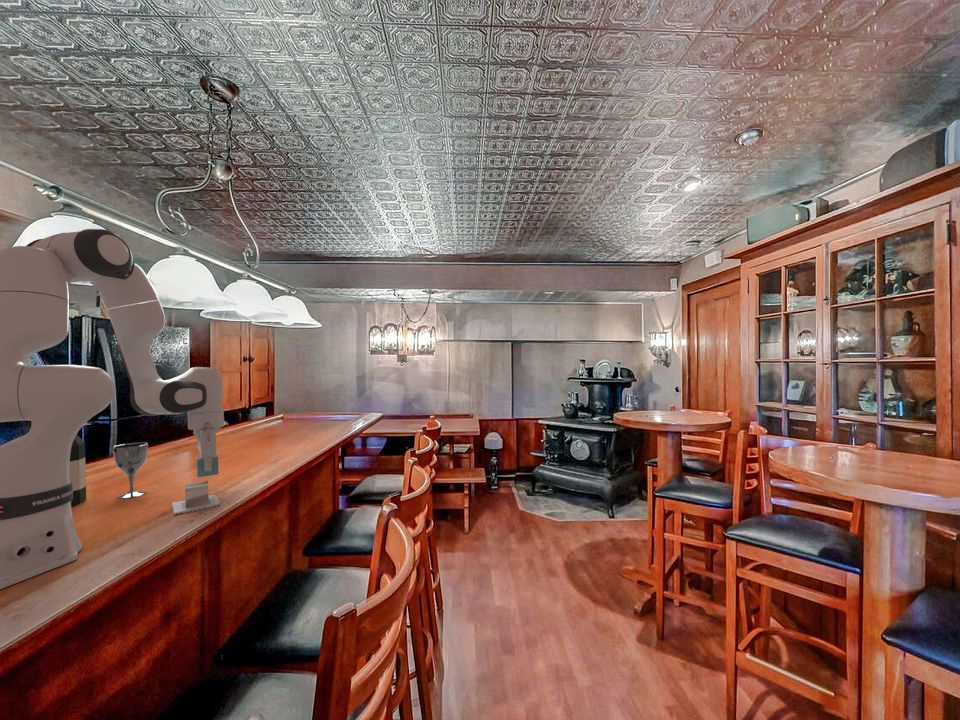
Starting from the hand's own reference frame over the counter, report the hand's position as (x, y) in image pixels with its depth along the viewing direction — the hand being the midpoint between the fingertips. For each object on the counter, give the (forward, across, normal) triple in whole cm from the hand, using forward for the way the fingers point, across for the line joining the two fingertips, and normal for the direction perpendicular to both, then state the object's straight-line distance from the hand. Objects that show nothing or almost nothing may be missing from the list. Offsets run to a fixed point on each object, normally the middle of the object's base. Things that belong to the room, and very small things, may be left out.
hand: (207, 468), depth 118 cm
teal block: (+2, 0, 0) cm, 2 cm away
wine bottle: (+7, +18, +32) cm, 38 cm away
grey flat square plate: (+8, -8, +3) cm, 12 cm away
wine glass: (+7, +16, +18) cm, 25 cm away
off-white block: (+7, -8, +3) cm, 11 cm away
